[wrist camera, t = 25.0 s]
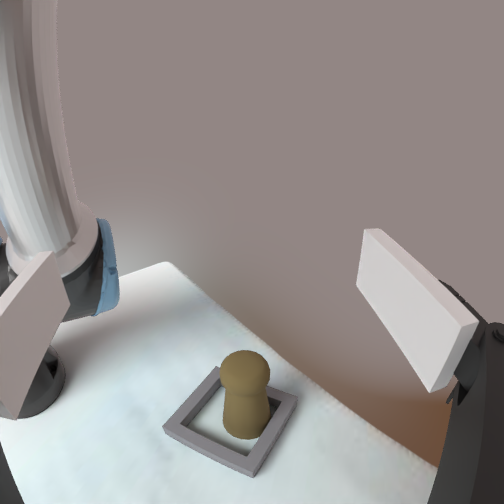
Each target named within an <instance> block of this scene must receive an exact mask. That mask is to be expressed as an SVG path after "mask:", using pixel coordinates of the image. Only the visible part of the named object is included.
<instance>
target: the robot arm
mask: <svg viewBox="0 0 504 504" xmlns="http://www.w3.org/2000/svg"><path fill="white" fill-rule="evenodd" d="M0 219H1V221H2V223H3V225H4V228H5V230H6V232H7V234H8V239H7V243H4V244H3V243H2V238H1V237H0V417H4V418H8V419H12V420H17V418H26V417H30V416H33V415H35V414H38V413H40V412H41V411H43V410H44V409H46V408H47V407H48V406H49V405H51V404H52V403H53V401H54V400H55V399H56V398H57V396H58V395H59V393H60V392H61V390H62V387H63V384H64V380H65V369H64V366H63V364H62V362H61V360H60V358H59V356H58V354H57V353H56V351H55V350H54V349H53V348H52V347H51V346H50V343H51V341H52V339H53V337H54V335H55V333H56V331H57V329H58V327H59V325H60V323H62V322H66V321H70V320H74V319H78V318H83V317H87V316H97V315H98V314H99V313H102V312H105V311H108V310H111V309H113V308H114V307H115V306H116V305H117V304H118V301H119V295H120V292H119V279H118V272H117V269H116V266H117V265H116V256H115V249H114V243H113V237H112V233H111V228H110V225H109V223H108V221H107V220H105V219H97V218H95V216H94V214H93V212H92V211H91V209H90V208H89V207H87V206H86V205H85V204H83V203H81V202H79V201H78V198H77V193H76V189H75V184H74V180H73V175H72V170H71V165H70V160H69V154H68V149H67V142H66V136H65V130H64V122H63V115H62V107H61V98H60V88H59V76H58V60H57V0H0ZM356 286H357V287H358V289H359V290H360V291H361V293H362V294H363V296H364V297H365V298H366V300H367V301H368V303H369V304H370V305H371V307H372V308H373V310H374V311H375V312H376V314H377V315H378V317H379V318H380V319H381V321H382V323H383V324H384V325H385V327H386V328H387V330H388V331H389V333H390V334H391V335H392V337H393V339H394V340H395V341H396V343H397V345H398V346H399V348H400V349H401V350H402V352H403V354H404V355H405V357H406V358H407V360H408V361H409V362H410V364H411V366H412V367H413V369H414V370H415V372H416V373H417V375H418V376H419V378H420V380H421V381H422V383H423V384H424V386H425V387H426V389H427V391H428V392H429V393H431V392H434V391H436V390H439V389H442V388H444V387H446V386H447V385H448V383H449V381H450V379H451V378H452V376H453V374H454V375H455V376H456V378H457V379H458V382H457V384H456V386H455V387H454V389H453V391H452V392H451V394H450V396H449V397H448V399H447V401H446V403H447V404H448V403H449V402H450V401H451V399H452V398H453V402H452V408H451V414H450V420H449V425H448V430H447V435H446V440H445V444H444V448H443V452H442V456H441V460H440V464H439V468H438V471H437V475H436V478H435V481H434V485H433V488H432V491H431V494H430V497H429V500H428V503H427V504H504V324H502V323H496V322H494V323H490V324H488V323H487V322H486V321H485V320H484V319H483V318H482V317H481V316H480V315H479V314H478V313H477V312H476V311H475V310H474V308H472V307H471V306H470V305H469V304H468V303H467V302H465V300H464V299H463V298H462V297H461V296H459V294H458V293H457V292H456V291H455V290H454V289H453V288H452V287H451V286H449V285H447V284H446V283H444V282H442V281H441V280H437V279H436V278H435V277H434V276H433V275H432V274H431V273H430V272H429V271H428V270H427V269H425V268H424V267H423V266H422V265H421V264H420V263H419V262H418V261H417V260H416V259H414V258H413V257H412V256H411V255H410V254H409V253H408V252H407V251H405V250H404V249H403V248H402V247H401V246H400V245H398V244H397V243H396V242H395V241H394V240H393V239H392V238H390V237H389V236H388V235H387V234H386V233H385V232H383V231H382V230H381V229H380V228H379V229H364V235H363V243H362V250H361V257H360V263H359V269H358V276H357V281H356ZM0 504H24V502H23V499H22V497H21V495H20V493H19V491H18V488H17V486H16V484H15V481H14V479H13V476H12V474H11V471H10V468H9V466H8V463H7V460H6V458H5V455H4V452H3V449H2V446H1V443H0Z"/></svg>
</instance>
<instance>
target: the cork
mask: <svg viewBox="0 0 504 504" xmlns="http://www.w3.org/2000/svg"><path fill="white" fill-rule="evenodd" d="M219 374H220V379H221V383H222V385H223V386H224V388H225V389H226V390H225V401H224V412H223V424H224V427H225V429H226V430H227V432H228V433H230V434H231V435H232V436H234V437H236V438H239V439H247V440H249V439H255V438H258V437H260V436H261V434H262V433H263V431H264V430H265V428H266V427H267V425H268V423H269V422H270V420H271V413H270V407H269V402H268V397H267V392H266V386H267V384H268V382H269V380H270V368H269V365H268V363H267V361H266V360H265V359H264V358H263V357H262V356H261V355H260V354H258V353H256V352H253V351H248V350H242V351H236V352H234V353H231V354H230V355H229V356H227V357H226V358H225V359H224V361H223V362H222V364H221V367H220V372H219Z"/></svg>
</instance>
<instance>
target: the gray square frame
mask: <svg viewBox="0 0 504 504" xmlns="http://www.w3.org/2000/svg"><path fill="white" fill-rule="evenodd" d="M219 372H220V368H219V367H217V366H216V367H215V368H214V369H213V370H212V372H211V373H210V374H209V375H208V376H207V377H206V378H205V379H204V381H203V382H202V383H201V384H200V385H199V386H198V387H197V389H196V390H195V391H194V392H193V393H192V394H191V395H190V396H189V398H188V399H187V400H186V401H185V402H184V403H183V404H182V405H181V406H180V407H179V409H178V410H177V411H176V412H175V413H174V414H173V415H172V416H171V417H170V418H169V420H168V421H167V422H166V423H165V424H164V425H163V426H162V427H163V429H164V431H165V434H167V435H169V436H170V437H172V438H174V439H175V440H177V441H179V442H181V443H182V444H184V445H186V446H188V447H190V448H192V449H193V450H195V451H197V452H199V453H201V454H203V455H205V456H207V457H209V458H211V459H213V460H215V461H217V462H219V463H221V464H223V465H225V466H227V467H229V468H231V469H233V470H236V471H238V472H240V473H242V474H245V475H247V476H249V477H252V478H253V477H254V476H255V474H256V473H257V471H258V470H259V468H260V466H261V465H262V463H263V462H264V460H265V458H266V457H267V455H268V453H269V452H270V450H271V448H272V447H273V445H274V443H275V442H276V440H277V438H278V437H279V435H280V433H281V432H282V430H283V428H284V426H285V425H286V423H287V421H288V419H289V417H290V416H291V414H292V412H293V410H294V408H295V407H296V405H297V398H298V397H297V396H294V395H291V394H288V393H285V392H283V391H280V390H277V389H274V388H271V387H268V386H266V392H267V397H268V402H269V405H271V406H274V407H276V408H278V409H277V410H276V412H275V414H274V415H273V417H272V418H271V420H270V422H269V423H268V425H267V427H266V428H265V430H264V431H263V433H262V434H261V436H260V438H259V439H258V441H257V442H256V444H255V445H254V447H253V448H252V450H251V451H250V453H249V454H248V456H247V457H246V456H244V455H242V454H239V453H237V452H235V451H233V450H230V449H228V448H226V447H224V446H222V445H220V444H218V443H216V442H214V441H212V440H210V439H207V438H206V437H204V436H202V435H200V434H198V433H196V432H194V431H192V430H190V429H188V428H186V426H187V425H188V424H189V423H190V422H191V420H192V419H193V418H194V417H195V416H196V414H197V413H198V412H199V411H200V410H201V409H202V407H203V406H204V405H205V404H206V403H207V401H208V400H209V399H210V398H211V397H212V395H213V394H214V393H215V392H216V390H217V389H218V388H219V387H220V386H223V385H222V383H221V379H220V374H219ZM223 387H224V386H223Z"/></svg>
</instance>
